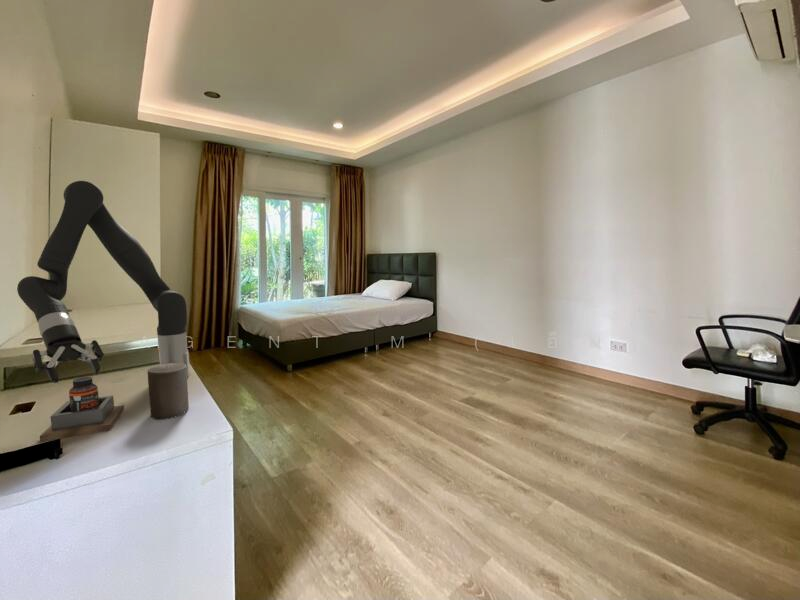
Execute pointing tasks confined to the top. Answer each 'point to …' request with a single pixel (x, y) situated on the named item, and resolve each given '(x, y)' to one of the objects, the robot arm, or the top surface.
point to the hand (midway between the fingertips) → (77, 376)
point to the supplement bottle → (83, 394)
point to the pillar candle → (168, 390)
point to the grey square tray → (82, 415)
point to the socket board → (83, 427)
